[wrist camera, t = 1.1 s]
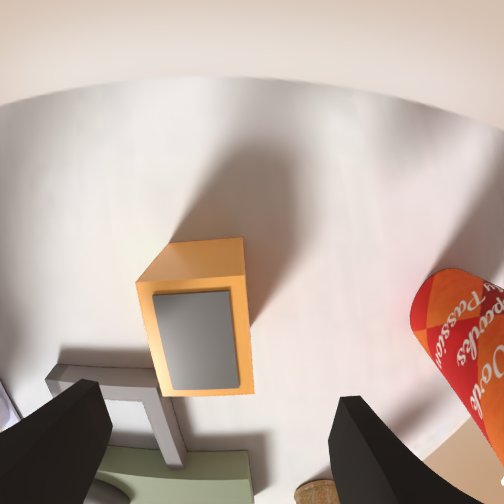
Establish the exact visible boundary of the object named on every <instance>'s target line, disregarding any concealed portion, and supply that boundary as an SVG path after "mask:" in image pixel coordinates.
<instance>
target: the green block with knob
mask: <svg viewBox="0 0 504 504" xmlns="http://www.w3.org/2000/svg"><path fill="white" fill-rule="evenodd" d="M80 379H87V380H92V381H97V382H99V386H100V389H101V392H102V395H103V398H104V399H107V400H120V401H137V402H142V403H143V405H144V408H145V411H146V414H147V416H148V419H149V422H150V424H151V427H152V430H153V432H154V435H155V437H156V440H157V442H158V445H159V447H160V450H151V449H138V448H128V447H119V446H111V445H107V449H106V452H105V454H104V457H103V459H102V461H101V464H100V466H99V468H98V470H97V473H96V475H95V477H94V479H93V482H92V484H91V486H90V489H89V491H88V493H87V495H86V498H85V500H84V503H83V504H254V493H253V486H252V479H251V472H250V465H249V458H248V451H247V450H241V451H187V450H186V447H185V444H184V441H183V438H182V435H181V432H180V429H179V426H178V422H177V419H176V416H175V413H174V409H173V406H172V402H171V399H170V396H163V395H162V392H161V388H160V385H159V381H158V377H157V374H156V370H155V369H137V368H107V367H89V366H74V365H62V364H56V365H55V367H54V368H53V369H52V370H51V372H50V373H49V374H48V376H47V377H46V378H45V381H46V384H47V386H48V388H49V390H50V392H51V394H52V396H53V398H55V397H56V396H57V395H59V394H60V393H62V392H63V391H64V390H66V389H67V388H69V387H70V386H71V385H73V384H74V383H76V382H77V381H79V380H80Z"/></svg>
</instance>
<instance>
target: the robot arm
mask: <svg viewBox="0 0 504 504" xmlns="http://www.w3.org/2000/svg"><path fill="white" fill-rule="evenodd" d="M4 427H8V429H6V430H4V431H2V430H3V428H4ZM112 428H113V425H112V422H111V419H110V416H109V413H108V411H107V408H106V405H105V402H104V398H103V395H102V392H101V389H100V386H99V382H97V381H92V380H87V379H80V380H79V381H77V382H76V383H74V384H73V385H71V386H70V387H69V388H67V389H66V390H64V391H63V392H62V393H60V394H59V395H57V396H56V397H55V398H53V399H52V400H50V401H49V402H48V403H46V404H45V405H43V406H42V407H40V408H39V409H37V410H36V411H35V412H33V413H32V414H30V415H29V416H27V417H25V418H24V419H22V420H21V419H20V417H19V416H18V414H17V412H16V410H15V408H14V407H13V405H12V403H11V401H10V399H9V397H8V395H7V394H6V392H5V390H4V388H3V386H2V384H1V382H0V504H83V503H84V500H85V498H86V495H87V493H88V491H89V489H90V486H91V484H92V482H93V479H94V477H95V475H96V473H97V470H98V468H99V466H100V464H101V461H102V459H103V457H104V454H105V452H106V449H107V445H108V442H109V439H110V435H111V431H112ZM1 431H2V432H1ZM328 445H329V454H330V463H331V470H332V474H333V478H334V482H335V486H336V490H337V494H338V498H339V502H340V504H484V503H482V502H480V501H478V500H476V499H474V498H473V497H471V496H469V495H467V494H465V493H464V492H462V491H460V490H459V489H457V488H456V487H454V486H452V485H451V484H450V483H449V482H447V481H446V480H444V479H443V478H442V477H440V476H439V475H438V474H436V473H435V472H434V471H432V470H431V469H430V468H429V467H428V466H427V465H425V464H424V463H423V462H422V461H421V460H420V459H419V458H418V457H417V456H415V455H414V454H413V453H412V452H411V451H410V450H409V449H408V448H407V447H406V446H405V445H404V444H403V443H402V442H401V441H400V440H399V439H398V438H397V437H396V436H395V435H394V433H393V432H392V431H391V430H390V429H389V428H388V427H387V426H386V425H385V424H384V422H383V421H382V420H381V419H380V418H379V417H378V416H377V415H376V413H375V412H374V411H373V410H372V409H371V408H370V406H369V405H368V404H367V403H366V402H365V401H364V400H363V398H362V397H361V396H347V397H340V399H339V403H338V407H337V411H336V414H335V418H334V422H333V425H332V429H331V432H330V435H329V439H328Z"/></svg>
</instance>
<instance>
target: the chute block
mask: <svg viewBox="0 0 504 504" xmlns="http://www.w3.org/2000/svg"><path fill="white" fill-rule="evenodd" d="M135 283H136V288H137V293H138V298H139V303H140V308H141V312H142V317H143V322H144V326H145V330H146V335H147V339H148V343H149V347H150V351H151V355H152V359H153V363H154V366H155V370H156V374H157V377H158V381H159V385H160V388H161V392H162V395H163V396H225V395H243V394H254V380H253V365H252V350H251V335H250V322H249V309H248V297H247V284H246V271H245V258H244V245H243V237H238V238H224V239H212V240H199V241H186V242H174V243H168V244H167V245H166V247H165V248H164V249H163V250H162V251H161V252H160V254H159V255H158V256H157V257H156V258H155V259H154V261H153V262H152V263H151V264H150V265H149V267H148V268H147V269H146V270H145V271H144V273H143V274H142V275H141V276H140V277H139V279H138V280H137V281H136V282H135Z"/></svg>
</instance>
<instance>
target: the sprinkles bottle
mask: <svg viewBox="0 0 504 504" xmlns="http://www.w3.org/2000/svg"><path fill="white" fill-rule="evenodd" d="M294 499H295V501H296V504H340V502H339V498H338V494H337V490H336V486H335V482H334V481H332V480H318V481H314V482H310V483H307V484H305V485H303V486H301V487H300V488H299V489H297V490H296V492H295V493H294Z"/></svg>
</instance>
